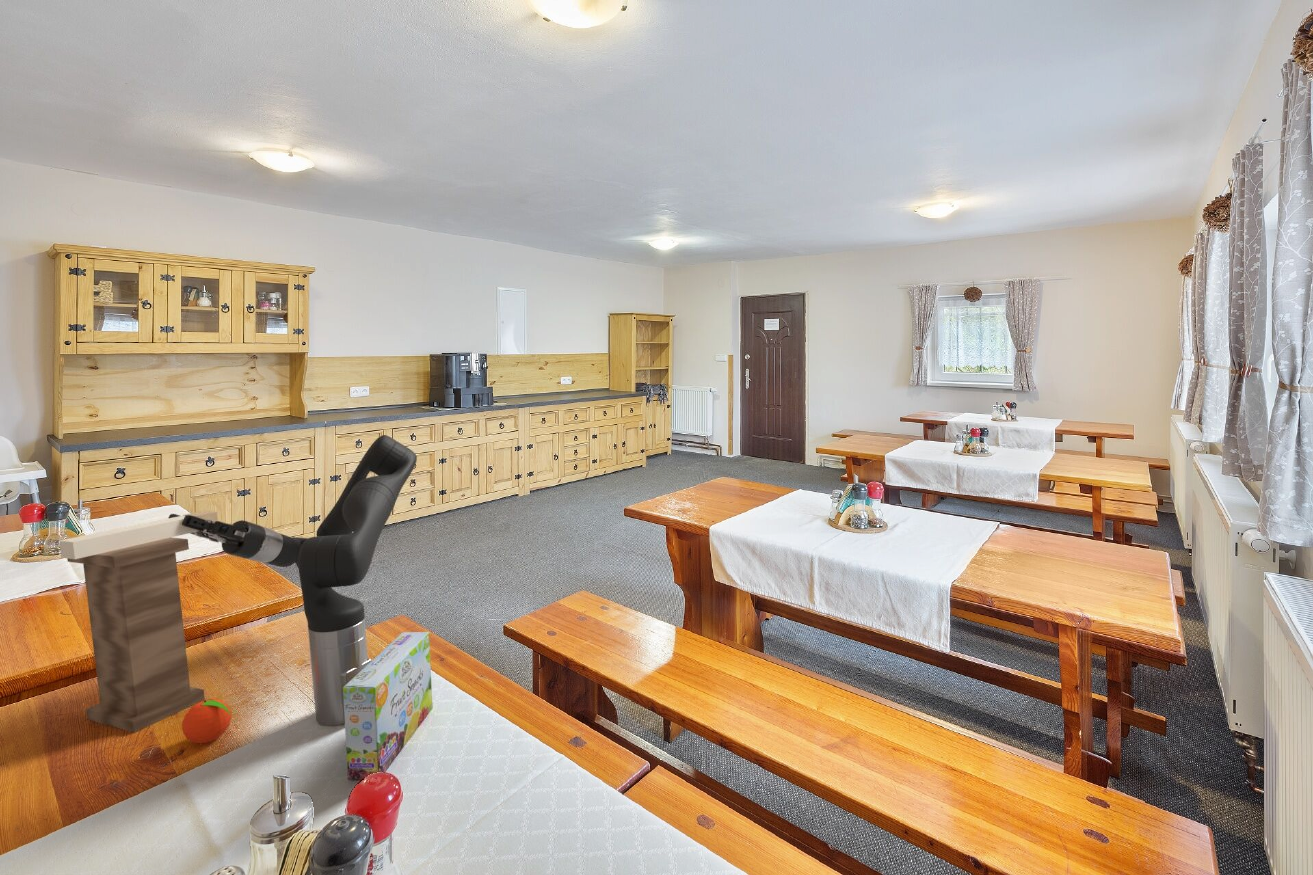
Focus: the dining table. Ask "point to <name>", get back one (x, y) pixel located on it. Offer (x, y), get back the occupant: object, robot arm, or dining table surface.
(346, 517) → the robot arm
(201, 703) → the clementine
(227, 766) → the dining table surface
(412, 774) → the dining table surface
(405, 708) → the snack box
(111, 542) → the cream wooden bar
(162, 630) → the walnut pedestal
